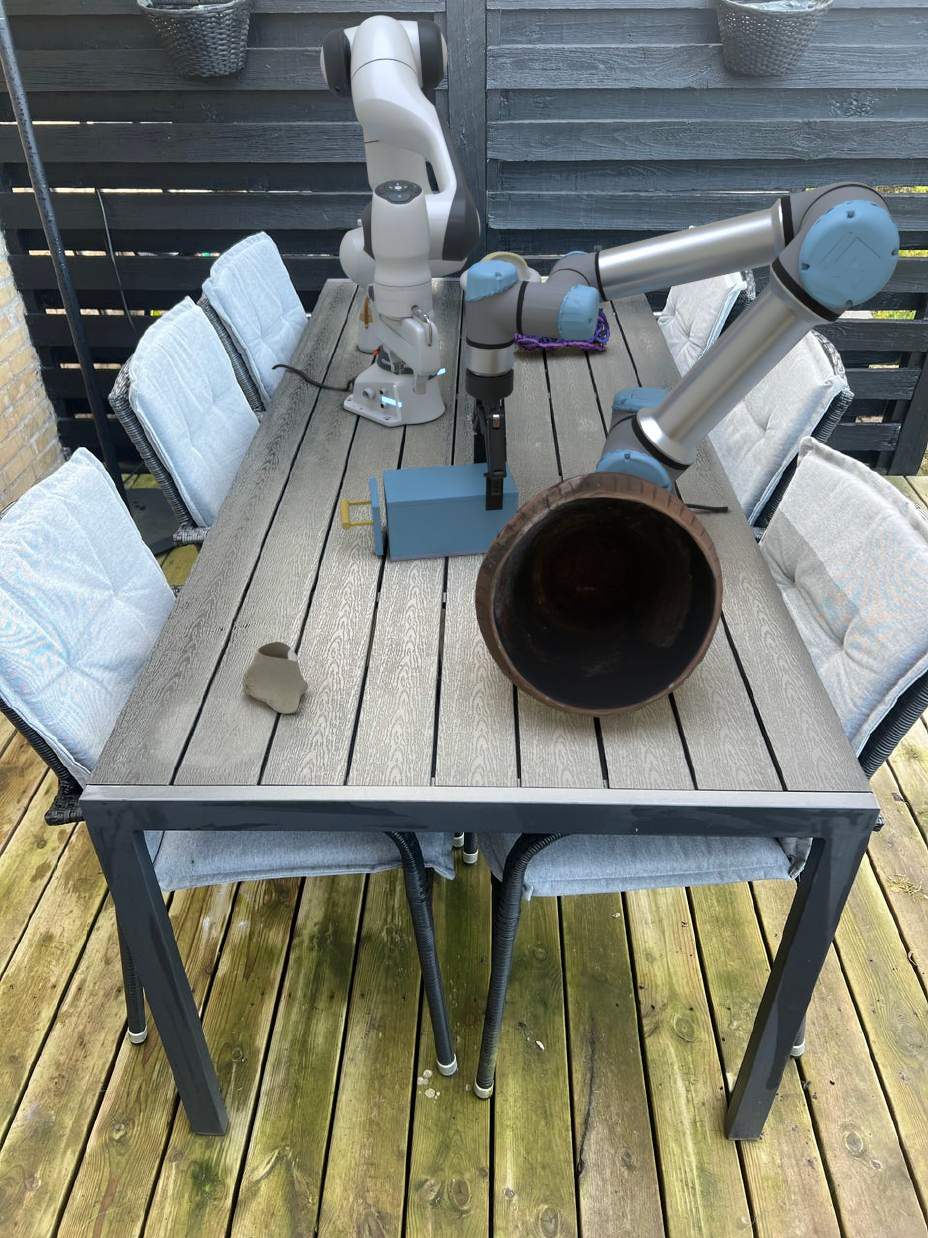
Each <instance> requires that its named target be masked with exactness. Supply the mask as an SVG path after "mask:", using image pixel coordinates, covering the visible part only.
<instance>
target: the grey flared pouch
mask: <svg viewBox="0 0 928 1238" xmlns="http://www.w3.org/2000/svg"><path fill="white" fill-rule="evenodd" d="M297 655H298V654H296V652H295V651H294V649H292V647H291V646H290V645H288V644H286V643H285V642H281V641H274V642H269V643H266V644H264V645H262V646H260V647H259V648H258V649H257V651H256V653H255V654H254V656H253V659H252V660H251V663H250V664H249V665H248V667H247V669H246V670H245V672H244V674H243V677H242V681H241V685H242V693H243V694H244V695H248V696H251V697H253V698H254V699H256V700H258V701H262V702H264V703H266V704H267V705H268V706H269V707H270V708H272V709H273V710H274V711H275V712H277V713H280V714H283V715H286V714H295V713H296V712H297V711H298V708H299V705H300V699H301V697H302V696H303V694H304V693H305V692H306V691H308V689H309V682H308V681H307V680H305V679H304V677H303V675H302V673H301V672H302V671H301V668H300V665H299V659H298V656H297Z"/></svg>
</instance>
